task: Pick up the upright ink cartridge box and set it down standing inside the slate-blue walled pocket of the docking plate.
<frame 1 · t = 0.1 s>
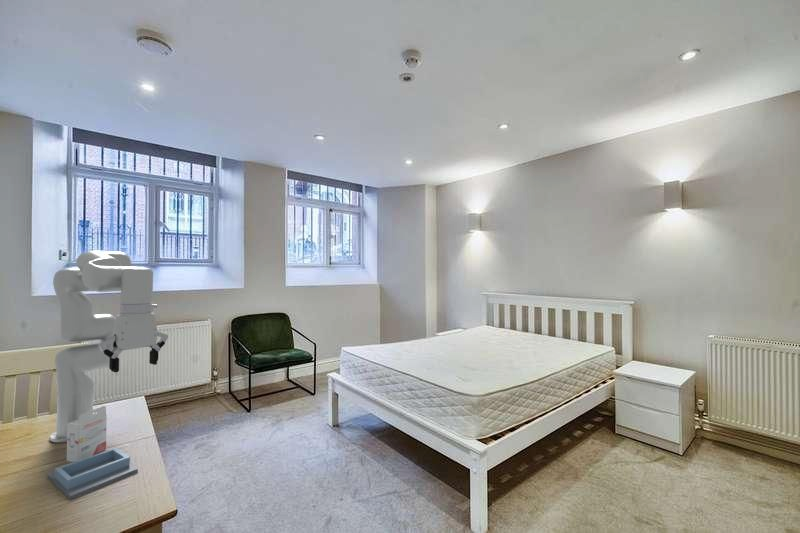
hand: (134, 367, 102), 31 cm above the table, tool pointing down, fingers open, 9 cm apart
dock: (93, 474, 101), on the table
ink cartridge box: (86, 455, 111), on the table
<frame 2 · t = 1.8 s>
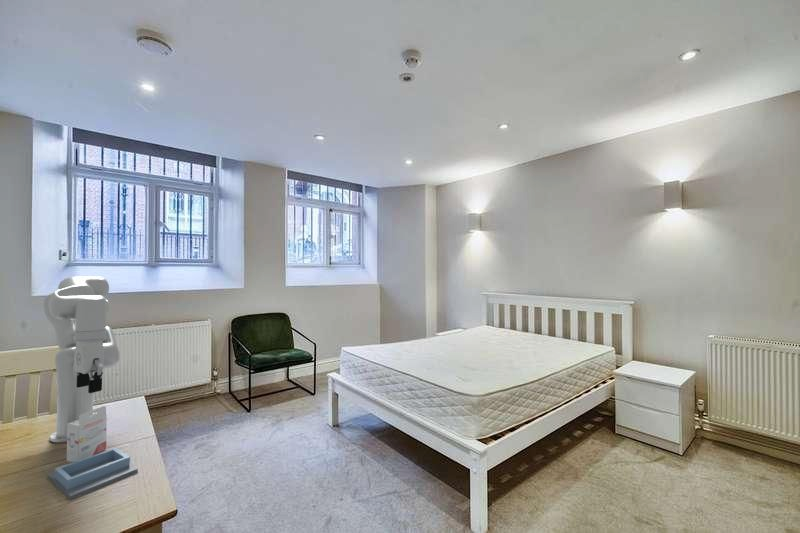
hand: (88, 389, 111), 21 cm above the table, tool pointing down, fingers open, 9 cm apart
nothing on the table moved.
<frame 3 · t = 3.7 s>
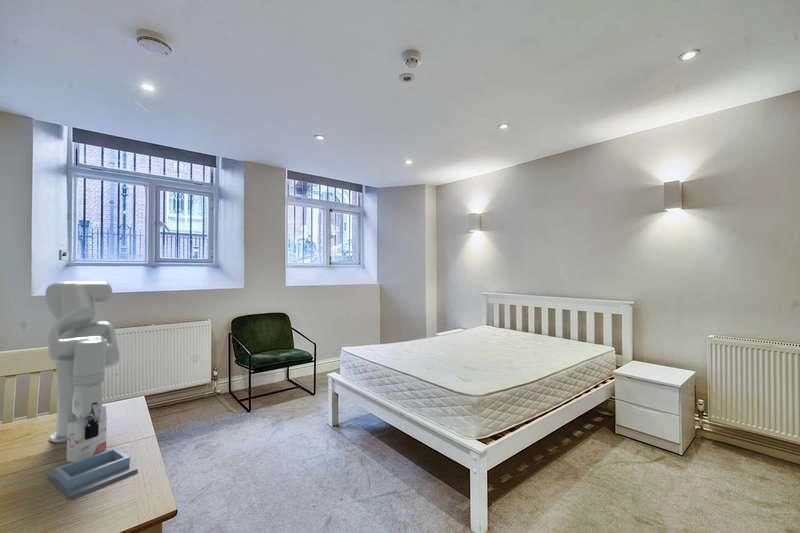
hand: (87, 434, 111), 7 cm above the table, tool pointing down, fingers closed on ink cartridge box, 6 cm apart
ink cartridge box: (86, 455, 111), on the table, touching gripper
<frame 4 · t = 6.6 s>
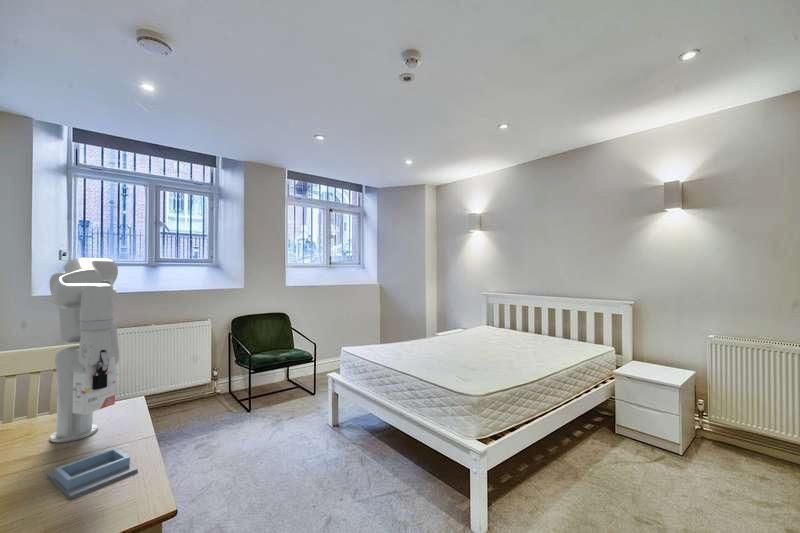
hand: (95, 386, 103), 25 cm above the table, tool pointing down, fingers closed on ink cartridge box, 6 cm apart
ink cartridge box: (93, 409, 103), point 18 cm above the table, touching gripper
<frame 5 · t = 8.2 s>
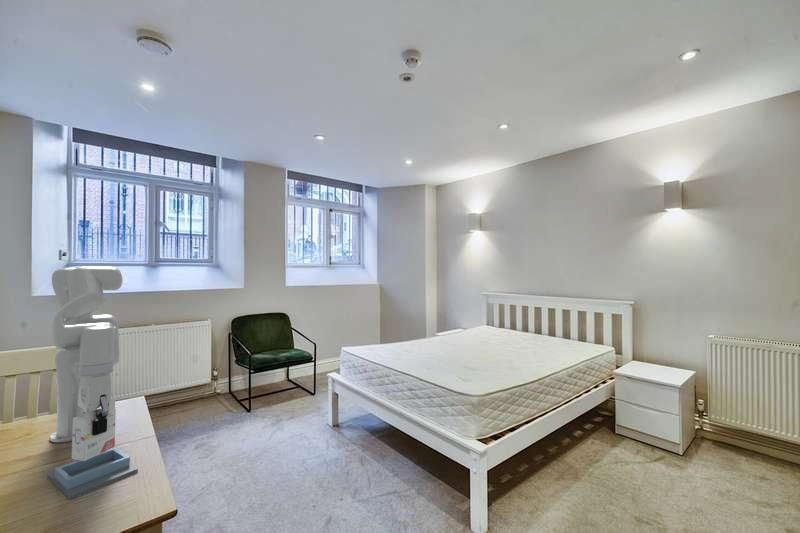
hand: (94, 429, 101), 13 cm above the table, tool pointing down, fingers closed on ink cartridge box, 6 cm apart
ink cartridge box: (93, 453, 101), point 6 cm above the table, touching gripper
when the fingers open (8 cm above the table, at t = 9.5 s): ink cartridge box stays where it is, resting on dock.
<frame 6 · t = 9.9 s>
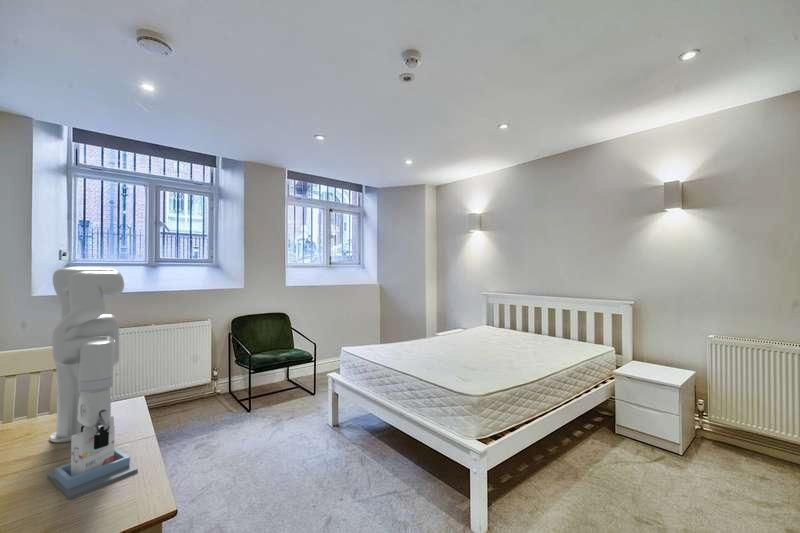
hand: (94, 442, 101), 9 cm above the table, tool pointing down, fingers open, 9 cm apart
ink cartridge box: (92, 471, 101), point 1 cm above the table, touching dock
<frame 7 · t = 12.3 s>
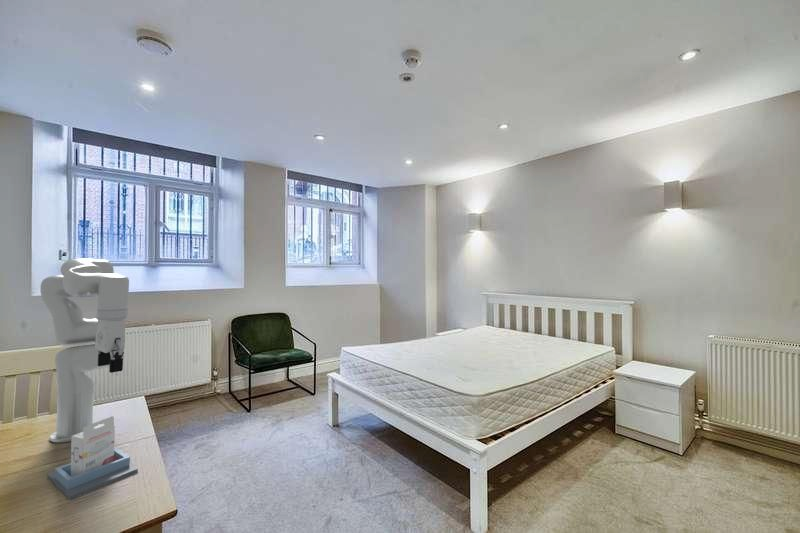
hand: (109, 368, 110), 28 cm above the table, tool pointing down, fingers open, 9 cm apart
nothing on the table moved.
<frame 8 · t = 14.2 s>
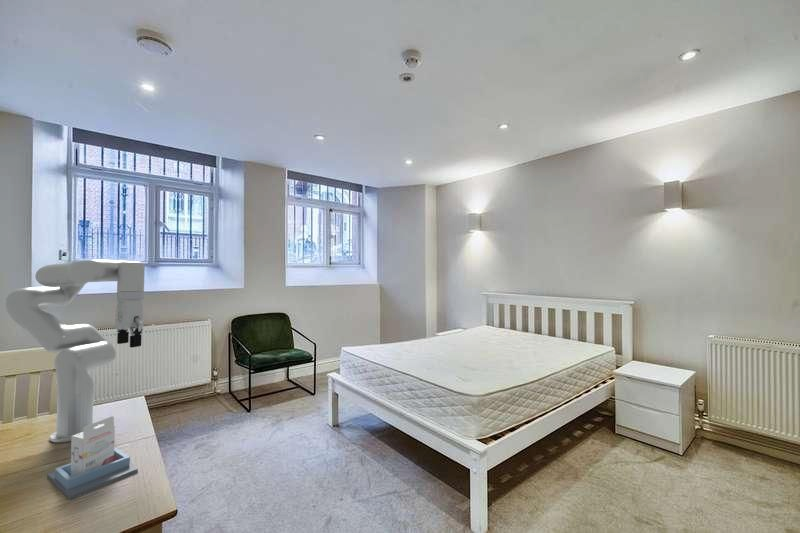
hand: (129, 345, 122), 33 cm above the table, tool pointing down, fingers open, 9 cm apart
nothing on the table moved.
at the end: ink cartridge box 0.5 cm off-centre on the dock, point 0.8 cm above the dock's base; ink cartridge box tilted 0°; the gripper is holding nothing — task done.
